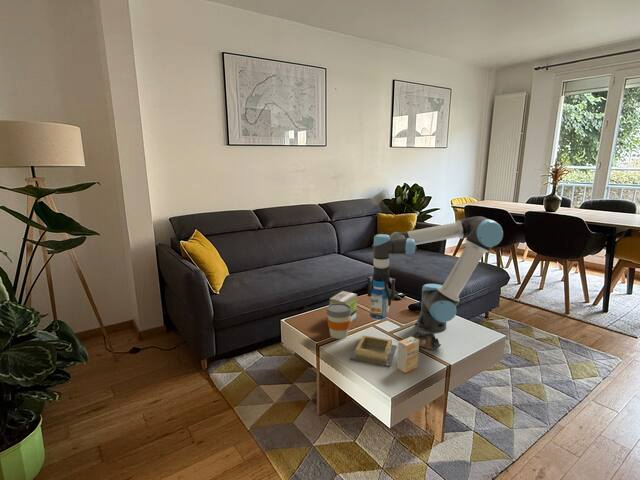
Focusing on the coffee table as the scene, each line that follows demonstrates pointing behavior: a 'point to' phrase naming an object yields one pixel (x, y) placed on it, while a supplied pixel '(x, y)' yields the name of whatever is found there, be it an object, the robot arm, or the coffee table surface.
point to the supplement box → (408, 354)
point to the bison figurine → (426, 340)
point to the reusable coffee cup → (339, 320)
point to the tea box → (346, 301)
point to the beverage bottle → (378, 301)
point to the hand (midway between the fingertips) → (381, 310)
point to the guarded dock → (374, 351)
